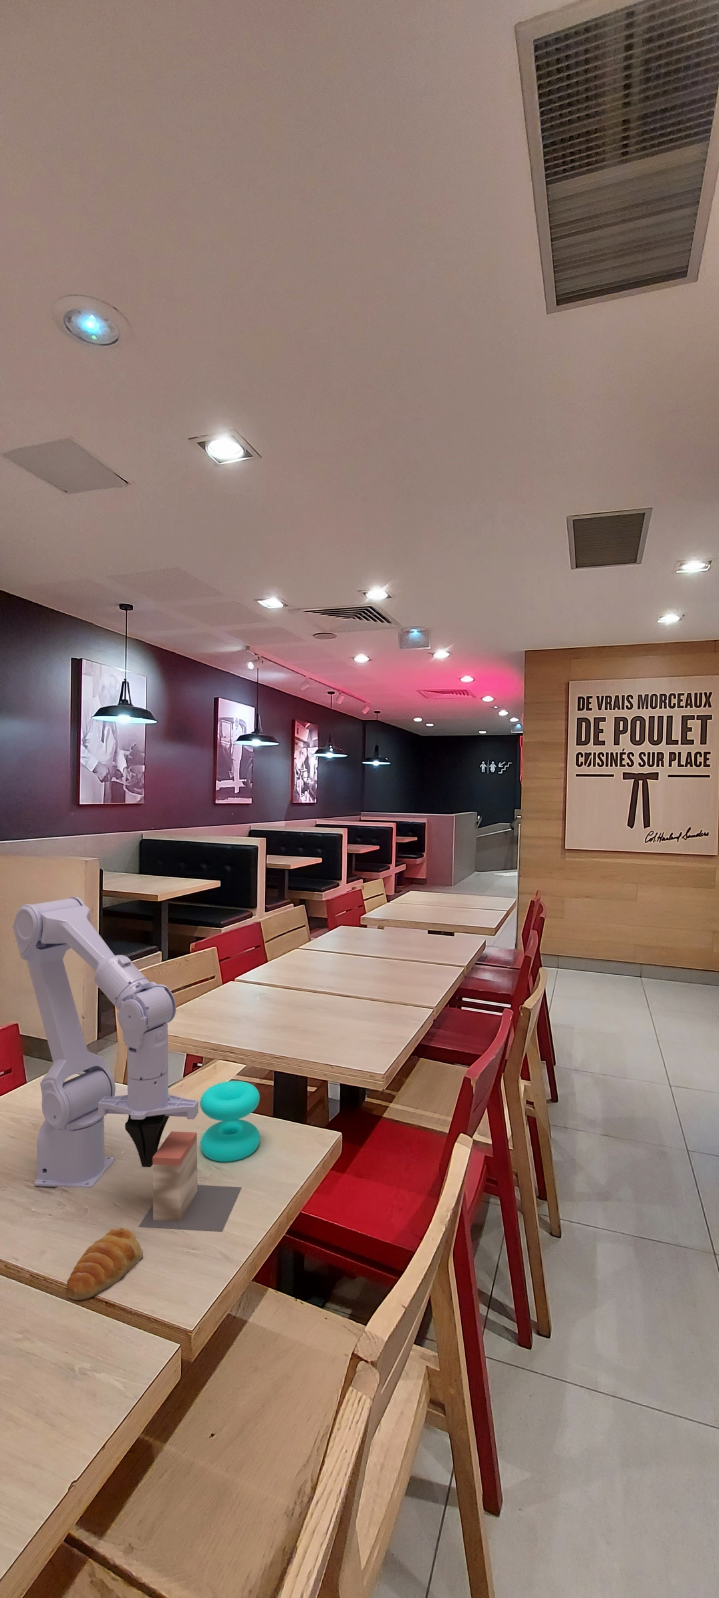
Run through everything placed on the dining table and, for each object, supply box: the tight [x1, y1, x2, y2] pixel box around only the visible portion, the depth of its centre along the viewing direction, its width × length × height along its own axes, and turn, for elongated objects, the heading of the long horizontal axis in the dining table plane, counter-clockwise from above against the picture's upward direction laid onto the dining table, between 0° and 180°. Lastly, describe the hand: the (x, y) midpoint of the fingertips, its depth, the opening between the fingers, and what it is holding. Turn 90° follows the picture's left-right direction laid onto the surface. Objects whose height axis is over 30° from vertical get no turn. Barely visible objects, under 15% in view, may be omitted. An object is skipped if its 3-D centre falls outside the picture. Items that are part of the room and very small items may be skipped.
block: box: [152, 1131, 198, 1222], centre depth 95 cm, size 4×7×9 cm, turn 175°
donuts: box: [199, 1080, 261, 1163], centre depth 111 cm, size 10×10×10 cm
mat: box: [138, 1184, 243, 1233], centre depth 95 cm, size 12×10×1 cm
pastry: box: [66, 1227, 144, 1301], centre depth 82 cm, size 9×7×4 cm
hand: (148, 1163), depth 95 cm, fingers closed
